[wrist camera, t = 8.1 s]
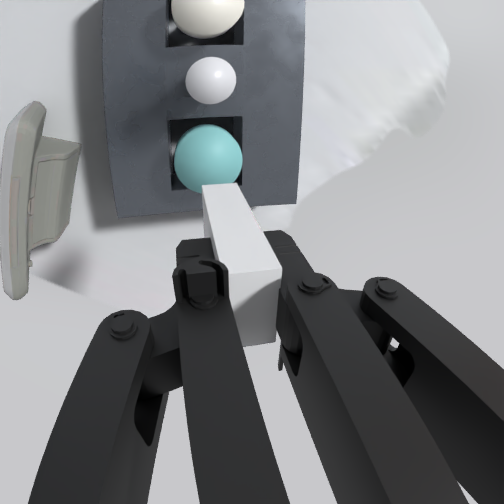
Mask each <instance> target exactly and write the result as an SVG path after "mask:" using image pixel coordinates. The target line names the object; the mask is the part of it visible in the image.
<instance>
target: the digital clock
mask: <svg viewBox="0 0 504 504" xmlns="http://www.w3.org/2000/svg"><path fill="white" fill-rule="evenodd" d="M45 116H46V108H45V107H44V106H43V105H42V104H41V103H40V102H37V101H33V102H31V103H30V104H28V105H27V106H25V107H24V108H23V109H22V110H21V111H20V112H19V113H18V114H17V115H16V116H15V117H14V119H13V120H12V121H11V122H10V123H9V125H8V127H7V130H6V134H5V140H4V148H3V157H2V167H1V181H0V255H1V268H2V279H3V288H4V292H5V293H6V294H7V295H8V296H9V297H10V298H11V299H13V300H19V299H21V298H22V297H24V296H25V295H26V293H27V292H28V282H29V267H31V266H32V261H31V260H30V250H32V249H33V248H35V247H37V246H40V245H42V244H45V243H53V242H56V241H57V240H58V239H59V238H60V236H61V235H62V233H63V232H64V230H65V228H66V227H67V225H68V224H69V219H70V210H71V203H72V196H73V189H74V182H75V176H76V171H77V165H78V160H79V155H80V150H81V144H79V143H75V142H71V141H66V140H61V139H56V138H51V137H45V136H42V131H43V125H44V120H45ZM33 157H34V158H33ZM32 165H33V166H32ZM32 167H33V168H32ZM31 171H32V172H31ZM31 173H32V174H31ZM31 176H32V177H31ZM30 180H31V181H30ZM30 183H31V184H30Z"/></svg>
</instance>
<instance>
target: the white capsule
mask: <svg viewBox="0 0 504 504" xmlns="http://www.w3.org/2000/svg"><path fill="white" fill-rule="evenodd" d="M185 82H186V88H187V91H188V92H189V94H190V95H191V96H192V97H193V98H194V99H195V100H197V101H198V102H201V103H204V104H216V103H219V102H222V101H224V100H225V99H227V98H228V97H229V96H230V95H231V93H232V92H233V90H234V88H235V85H236V74H235V71H234V69H233V68H232V66H231V65H230V64H229V63H228V62H227V61H225V60H223V59H221V58H217V57H206V58H203V59H200V60H198V61H197V62H195V63H194V64H193V65H192V66H191V67H190V69H189V70H188V72H187V75H186V81H185Z"/></svg>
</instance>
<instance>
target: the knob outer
mask: <svg viewBox="0 0 504 504" xmlns="http://www.w3.org/2000/svg"><path fill="white" fill-rule="evenodd" d="M174 166H175V171H176V174H177V176H178V178H179V180H180V181H181V182H182V183H183V184H184V185H185V186H186V187H187V188H189V189H190V190H192V191H195V192H198V193H202V185H213V184H227V183H233V182H234V181H235V180H236V178H237V177H238V175H239V173H240V171H241V167H242V152H241V149H240V147H239V145H238V143H237V142H236V140H235V139H234V138H233V137H232V136H231V135H230V134H229V133H228V132H227V131H226V130H225V129H223V128H222V127H219V126H217V125H213V124H202V125H197V126H195V127H193V128H191V129H189V130H188V131H186V132H185V133H184V134H183V135H182V136H181V138H180V139H179V141H178V143H177V146H176V150H175V158H174Z"/></svg>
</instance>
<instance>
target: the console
mask: <svg viewBox="0 0 504 504" xmlns="http://www.w3.org/2000/svg"><path fill="white" fill-rule="evenodd" d="M168 34H169V0H104V2H103V27H102V67H103V93H104V110H105V123H106V134H107V144H108V153H109V162H110V170H111V177H112V184H113V191H114V197H115V204H116V210H117V216H118V218H125V217H134V216H144V215H153V214H164V213H174V212H185V211H197V210H203V202H202V193H198V192H195V191H192V190H190V189H189V188H187V187H186V186H185V185H184V184H183V183H182V182H181V181H180V180H179V178H178V176H177V174H173V167H172V151H171V133H170V120H175V119H188V118H205V117H228V116H233V138H234V139H235V140H236V142H237V143H238V145H239V147H240V149H241V152H242V167H241V171H240V173H239V175H238V177H237V178H236V180H235V181H234V182H233V183H237V185H238V186H239V188H240V190H241V192H242V194H243V196H244V197H245V199H246V201H247V203H248V205H249V207H250V206H265V205H282V204H296V200H297V187H298V173H299V157H300V141H301V123H302V103H303V79H304V48H305V0H244V9H243V12H242V15H241V16H240V18H239V19H238V21H237V22H236V23H235V24H234V45H197V46H179V47H168ZM206 57H217V58H221V59H223V60H225V61H227V62H228V63H229V64H230V65H231V66H232V68H233V69H234V71H235V74H236V85H235V88H234V90H233V92H232V93H231V95H230V96H229V97H228V98H227V99H225V100H224V101H222V102H219V103H216V104H204V103H201V102H198V101H197V100H195V99H194V98H193V97H192V96H191V95H190V94H189V92H188V91H187V88H186V82H185V81H186V75H187V72H188V70H189V69H190V67H191V66H192V65H193V64H194V63H195V62H197V61H198V60H200V59H203V58H206Z"/></svg>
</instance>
